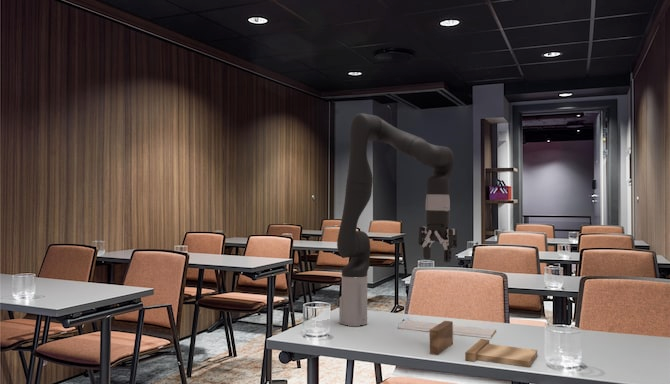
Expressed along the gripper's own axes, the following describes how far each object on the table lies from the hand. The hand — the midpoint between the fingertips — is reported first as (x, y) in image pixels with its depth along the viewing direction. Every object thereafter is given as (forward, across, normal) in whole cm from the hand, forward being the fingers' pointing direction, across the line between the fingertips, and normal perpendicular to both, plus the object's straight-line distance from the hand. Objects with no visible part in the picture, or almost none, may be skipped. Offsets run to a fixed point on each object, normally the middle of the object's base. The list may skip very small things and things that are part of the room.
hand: (437, 260), depth 169 cm
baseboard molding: (+26, -8, +13) cm, 31 cm away
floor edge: (+25, +23, +3) cm, 34 cm away
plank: (+25, +7, -5) cm, 27 cm away
